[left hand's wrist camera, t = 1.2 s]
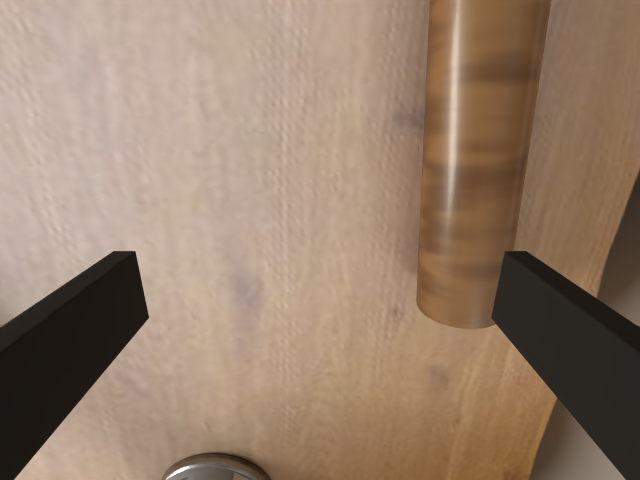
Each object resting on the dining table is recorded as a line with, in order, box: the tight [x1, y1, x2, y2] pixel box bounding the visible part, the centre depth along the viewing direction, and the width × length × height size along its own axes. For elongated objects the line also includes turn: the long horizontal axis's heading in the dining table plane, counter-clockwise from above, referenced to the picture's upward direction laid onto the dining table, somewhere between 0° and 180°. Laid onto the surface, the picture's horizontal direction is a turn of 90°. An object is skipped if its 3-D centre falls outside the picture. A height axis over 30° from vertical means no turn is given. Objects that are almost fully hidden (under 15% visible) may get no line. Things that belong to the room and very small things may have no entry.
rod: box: [416, 0, 551, 329], centre depth 26 cm, size 28×7×7 cm, turn 3°
